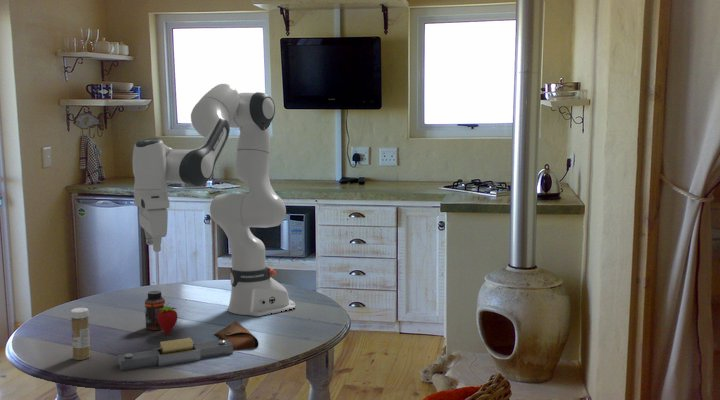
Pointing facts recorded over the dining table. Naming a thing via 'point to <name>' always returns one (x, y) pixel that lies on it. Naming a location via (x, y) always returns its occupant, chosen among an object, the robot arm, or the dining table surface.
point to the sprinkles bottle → (80, 333)
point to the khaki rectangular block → (176, 345)
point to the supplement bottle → (153, 309)
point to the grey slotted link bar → (174, 355)
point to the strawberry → (167, 318)
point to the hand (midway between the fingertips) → (153, 247)
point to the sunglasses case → (238, 336)
